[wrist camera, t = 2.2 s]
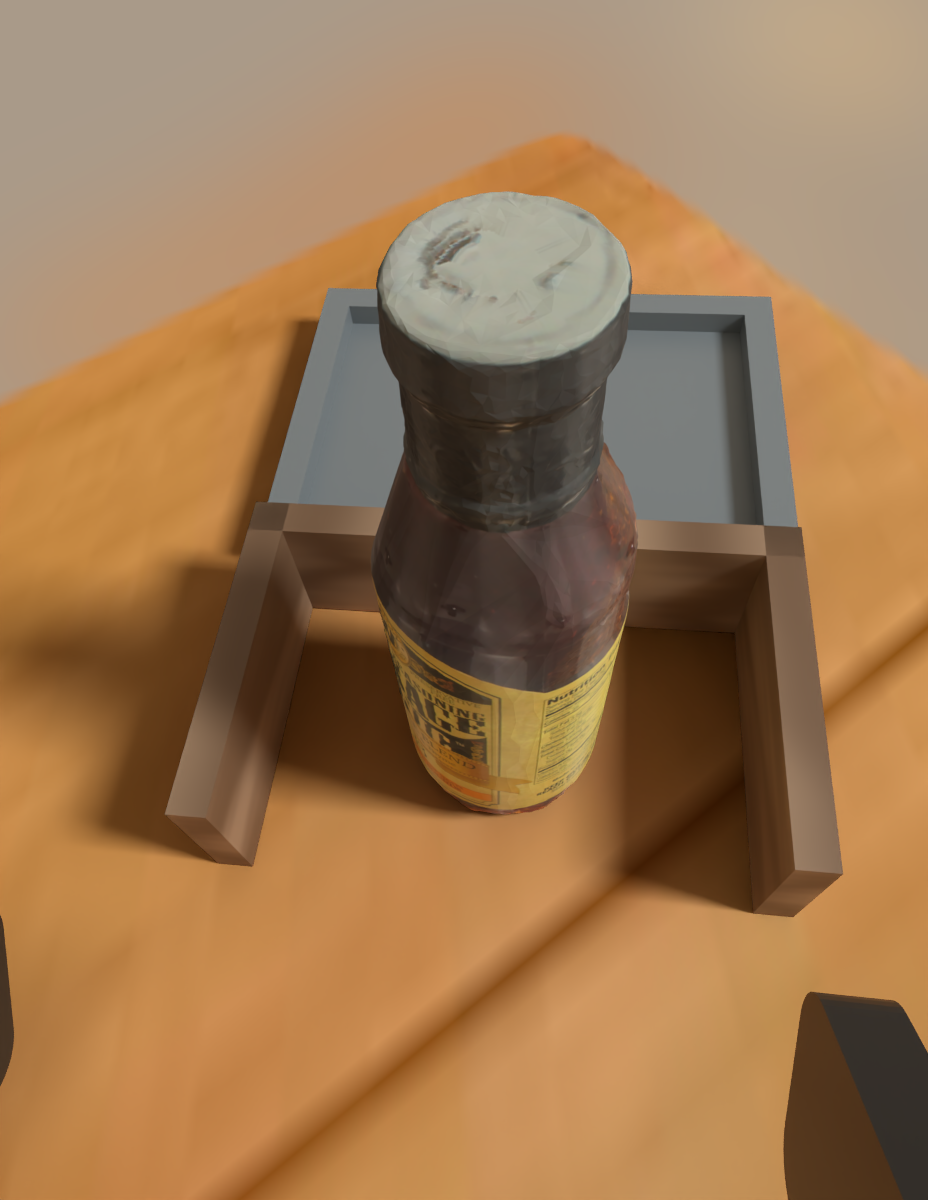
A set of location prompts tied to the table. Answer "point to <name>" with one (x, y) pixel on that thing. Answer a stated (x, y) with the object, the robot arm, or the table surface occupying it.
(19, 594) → the table surface
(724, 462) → the tray
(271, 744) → the holder
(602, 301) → the sauce bottle
